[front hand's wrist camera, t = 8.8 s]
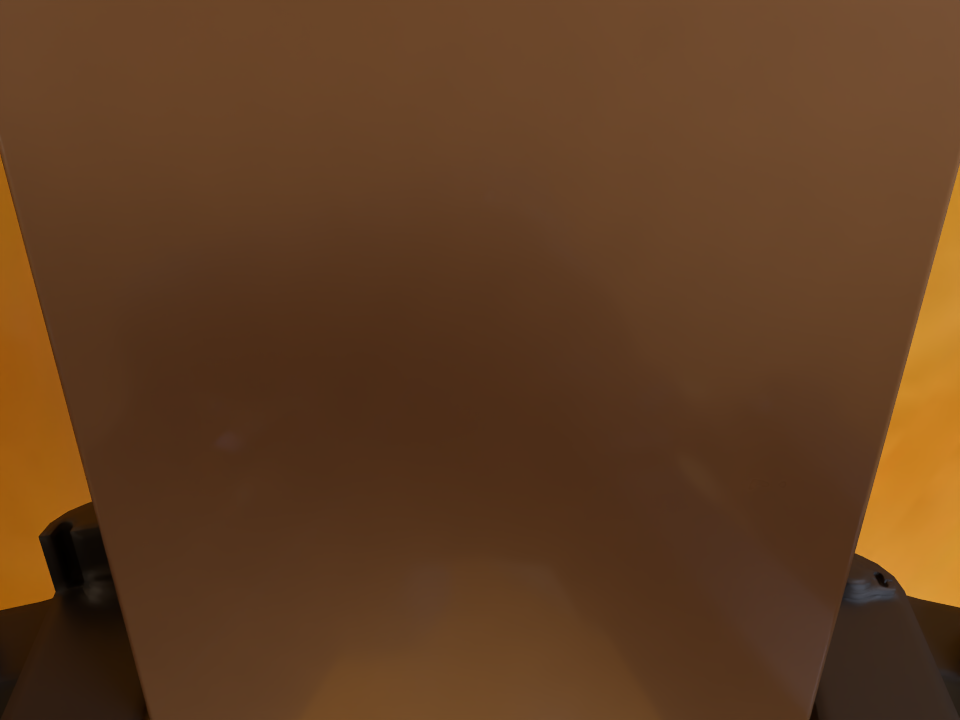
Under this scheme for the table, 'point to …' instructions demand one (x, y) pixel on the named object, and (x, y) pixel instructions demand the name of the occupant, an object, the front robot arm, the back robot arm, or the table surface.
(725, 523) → the bar
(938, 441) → the table surface
